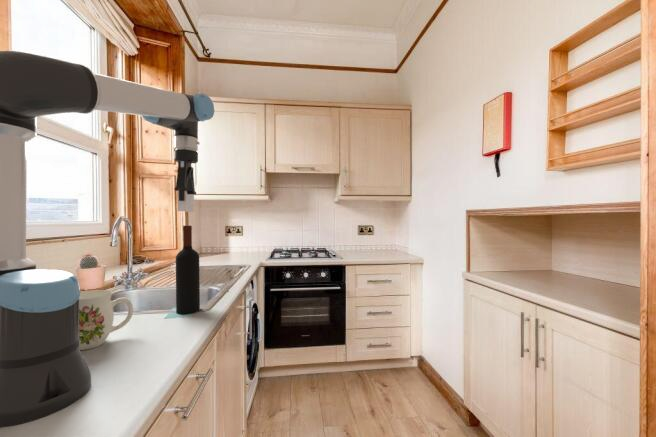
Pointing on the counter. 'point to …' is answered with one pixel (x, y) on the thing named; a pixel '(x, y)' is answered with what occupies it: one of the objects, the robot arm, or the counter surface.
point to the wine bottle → (187, 276)
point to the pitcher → (98, 317)
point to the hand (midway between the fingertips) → (186, 211)
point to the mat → (175, 314)
